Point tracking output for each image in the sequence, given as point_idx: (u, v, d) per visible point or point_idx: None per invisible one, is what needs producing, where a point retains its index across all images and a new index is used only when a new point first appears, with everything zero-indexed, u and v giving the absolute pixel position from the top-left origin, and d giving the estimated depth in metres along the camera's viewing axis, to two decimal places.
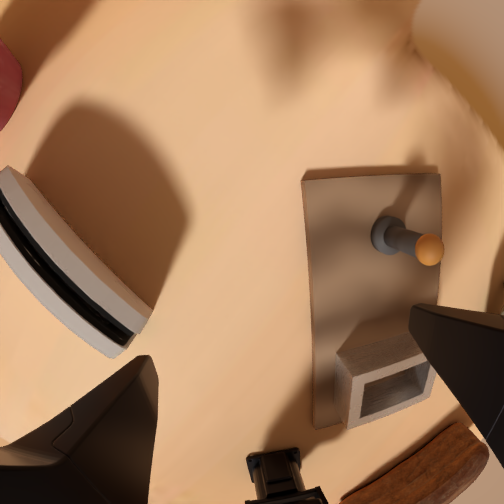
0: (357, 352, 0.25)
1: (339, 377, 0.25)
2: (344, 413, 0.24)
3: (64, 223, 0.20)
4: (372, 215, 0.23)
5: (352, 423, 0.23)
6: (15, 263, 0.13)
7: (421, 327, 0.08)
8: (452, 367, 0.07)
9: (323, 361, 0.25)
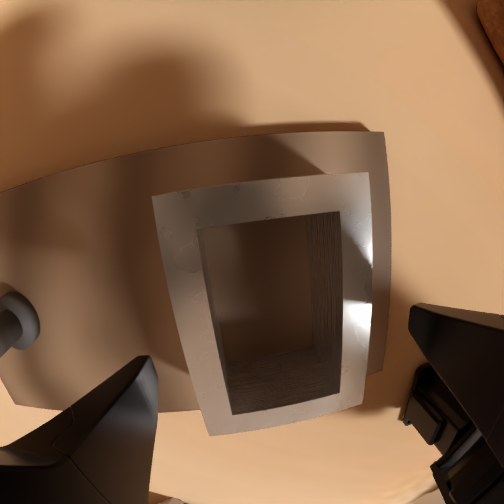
0: None
1: None
2: None
3: None
4: None
5: (348, 401, 0.11)
6: None
7: (421, 327, 0.08)
8: (452, 367, 0.07)
9: None
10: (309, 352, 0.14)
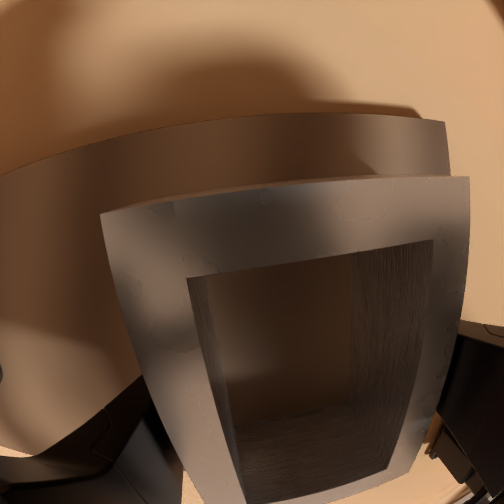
0: None
1: None
2: None
3: None
4: None
5: (393, 473, 0.07)
6: None
7: None
8: None
9: None
10: (343, 409, 0.10)
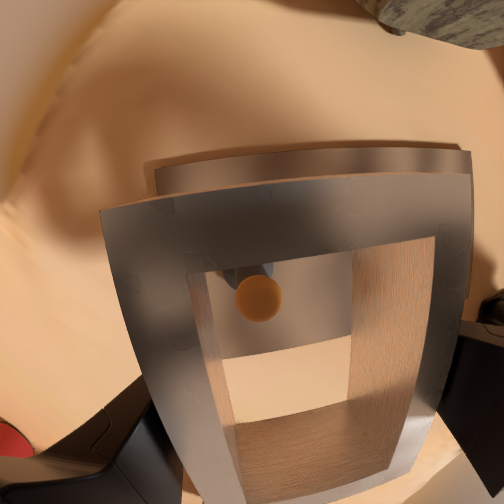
0: None
1: None
2: None
3: None
4: (223, 287, 0.20)
5: (394, 473, 0.07)
6: None
7: None
8: None
9: None
10: (343, 408, 0.10)
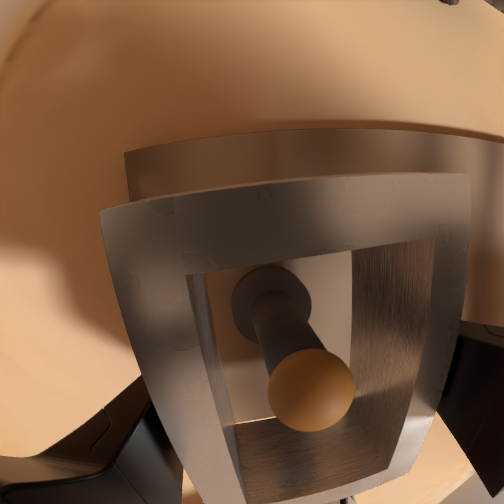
0: None
1: None
2: None
3: None
4: (233, 335, 0.13)
5: (394, 473, 0.07)
6: None
7: None
8: None
9: None
10: None
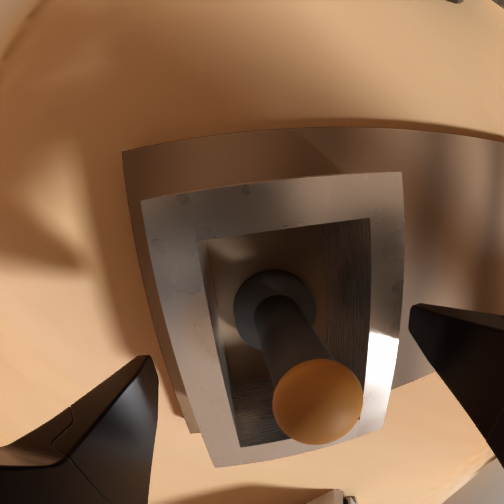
0: None
1: None
2: None
3: None
4: (235, 340, 0.12)
5: (367, 426, 0.10)
6: None
7: (421, 327, 0.08)
8: (452, 367, 0.07)
9: None
10: None
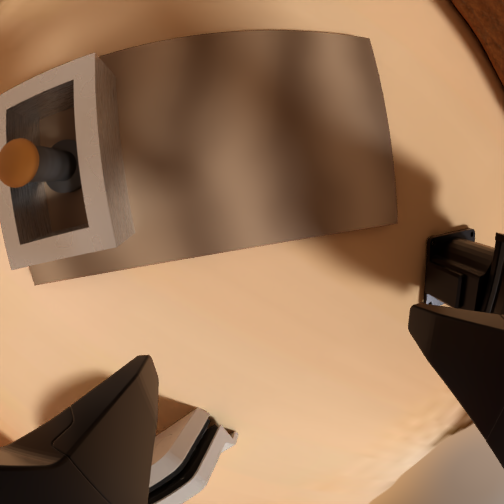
0: None
1: None
2: None
3: None
4: (51, 193, 0.15)
5: (100, 239, 0.13)
6: None
7: (421, 327, 0.08)
8: (452, 367, 0.07)
9: (262, 232, 0.18)
10: None
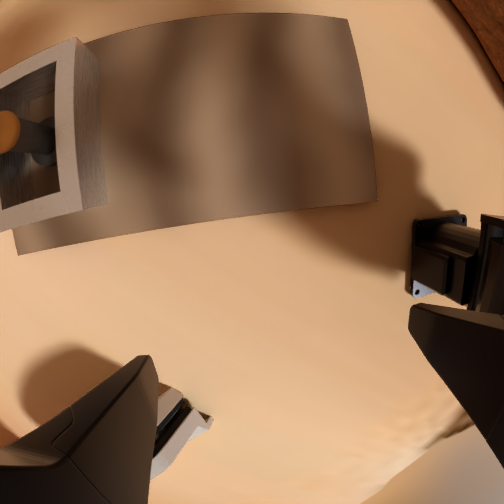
0: None
1: None
2: None
3: None
4: (37, 168, 0.15)
5: (69, 203, 0.12)
6: None
7: (421, 327, 0.08)
8: (452, 367, 0.07)
9: (231, 205, 0.18)
10: None
